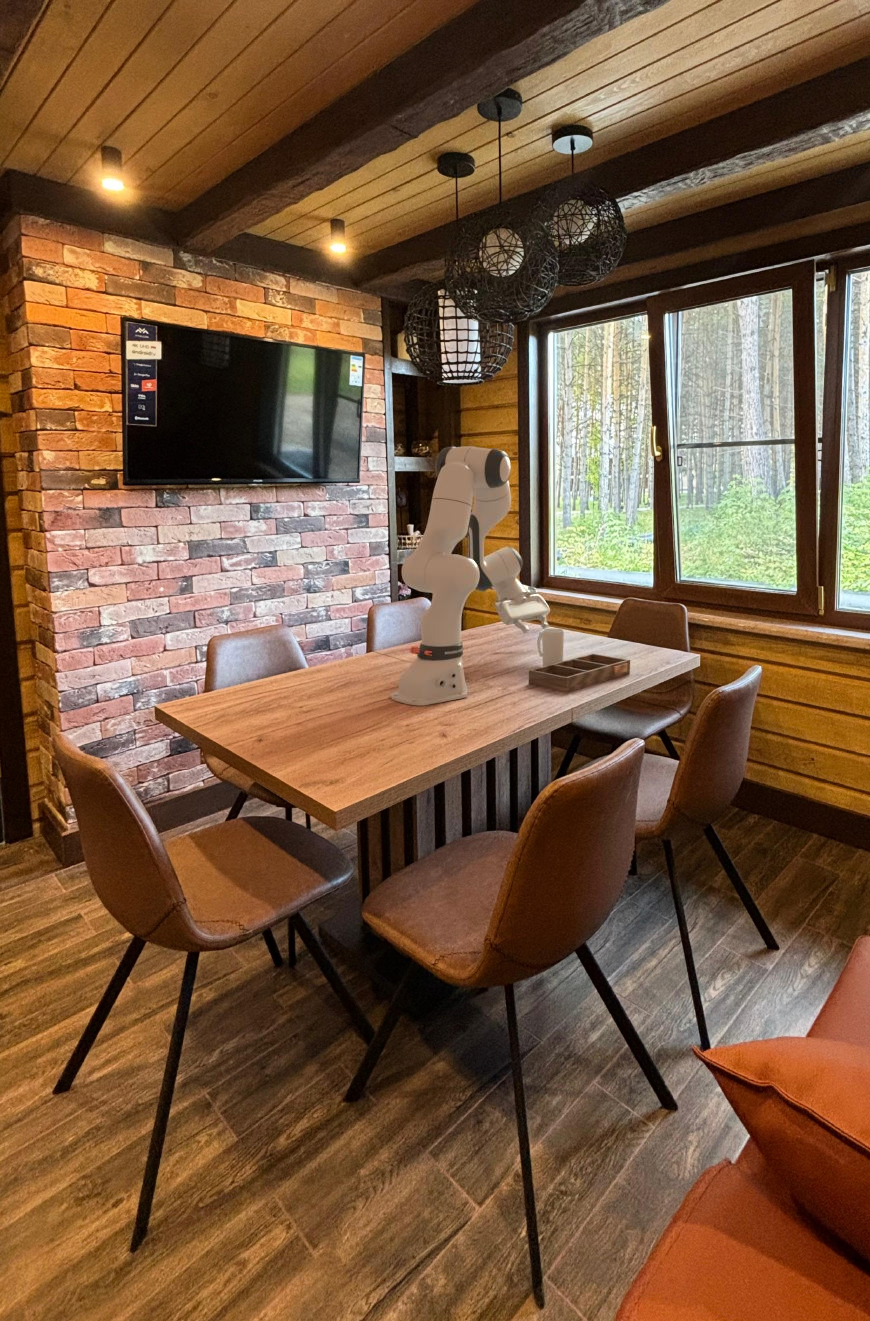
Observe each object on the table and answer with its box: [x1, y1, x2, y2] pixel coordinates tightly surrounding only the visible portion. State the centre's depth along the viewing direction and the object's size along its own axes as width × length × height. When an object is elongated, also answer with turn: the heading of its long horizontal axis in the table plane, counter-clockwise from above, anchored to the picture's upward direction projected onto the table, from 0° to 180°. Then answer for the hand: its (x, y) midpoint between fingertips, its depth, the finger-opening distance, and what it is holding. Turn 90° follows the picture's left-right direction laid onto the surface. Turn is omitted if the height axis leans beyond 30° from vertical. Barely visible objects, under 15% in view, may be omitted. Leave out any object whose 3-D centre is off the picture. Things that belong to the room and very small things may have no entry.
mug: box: [536, 628, 565, 667], centre depth 237 cm, size 10×7×12 cm, turn 38°
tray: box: [528, 653, 631, 693], centre depth 221 cm, size 30×15×4 cm, turn 131°
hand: (536, 629), depth 239 cm, fingers open, 8 cm apart
